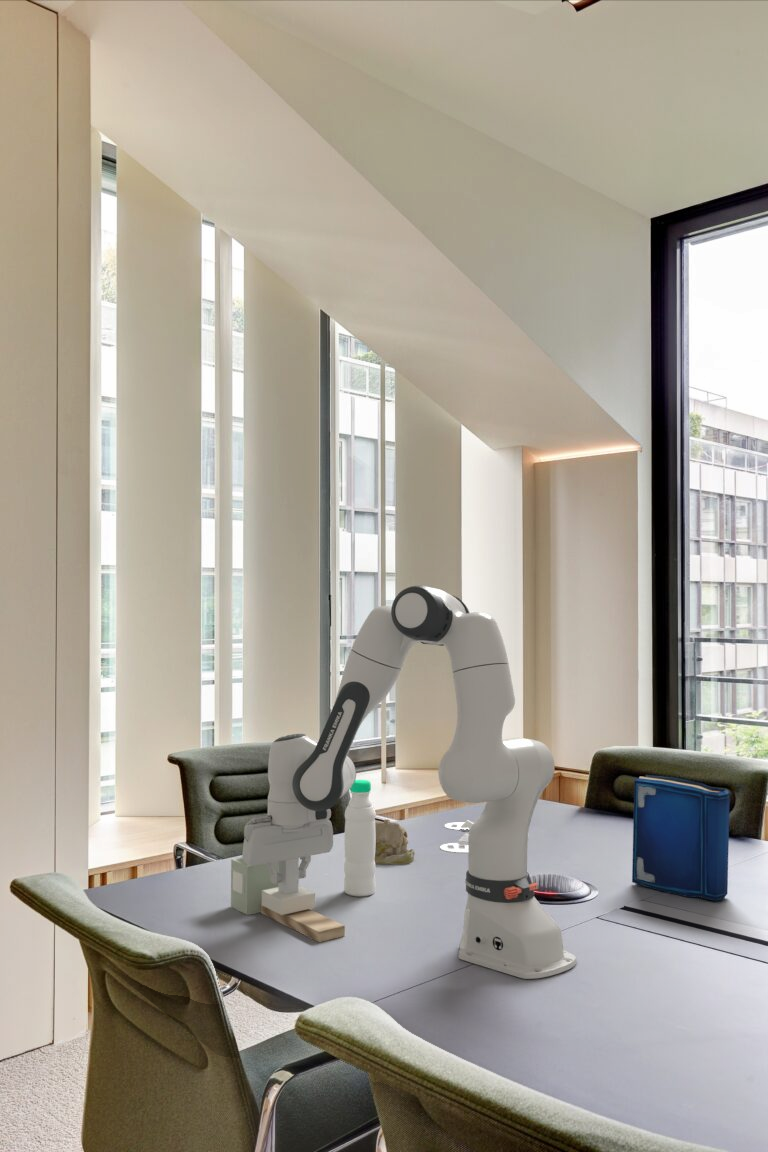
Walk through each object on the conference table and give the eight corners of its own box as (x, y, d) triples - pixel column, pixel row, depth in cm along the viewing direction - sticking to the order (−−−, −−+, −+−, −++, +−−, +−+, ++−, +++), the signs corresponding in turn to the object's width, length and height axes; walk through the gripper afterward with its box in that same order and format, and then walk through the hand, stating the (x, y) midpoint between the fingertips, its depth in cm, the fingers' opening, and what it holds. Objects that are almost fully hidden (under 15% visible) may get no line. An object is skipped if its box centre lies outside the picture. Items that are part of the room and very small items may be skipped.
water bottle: (371, 898, 209) (372, 784, 209) (340, 896, 210) (341, 783, 211) (378, 889, 215) (378, 778, 216) (348, 887, 217) (348, 777, 218)
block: (344, 935, 184) (344, 925, 185) (318, 942, 181) (319, 931, 181) (285, 907, 202) (285, 897, 202) (260, 912, 198) (260, 903, 198)
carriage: (315, 907, 195) (315, 858, 195) (281, 915, 190) (282, 864, 190) (294, 898, 201) (294, 850, 201) (261, 905, 196) (262, 856, 196)
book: (734, 898, 210) (733, 785, 211) (721, 905, 205) (720, 789, 206) (644, 879, 225) (644, 773, 225) (630, 885, 219) (629, 777, 220)
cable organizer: (445, 824, 283) (445, 812, 284) (526, 826, 281) (526, 814, 281) (438, 854, 249) (439, 840, 249) (531, 857, 246) (531, 843, 246)
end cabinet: (295, 904, 204) (296, 848, 205) (245, 915, 197) (245, 857, 197) (279, 896, 210) (279, 841, 210) (229, 906, 202) (229, 850, 203)
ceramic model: (354, 862, 239) (354, 822, 239) (367, 851, 249) (367, 813, 250) (408, 866, 235) (408, 826, 235) (419, 855, 246) (419, 816, 246)
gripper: (252, 822, 187) (251, 892, 187) (337, 809, 200) (337, 875, 199) (237, 816, 192) (236, 885, 192) (320, 804, 205) (320, 868, 204)
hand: (288, 880), depth 196 cm, fingers open, 5 cm apart
